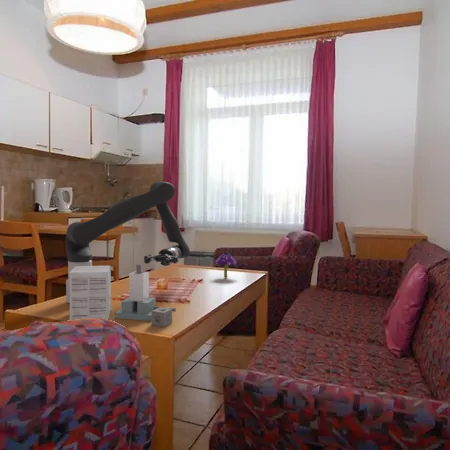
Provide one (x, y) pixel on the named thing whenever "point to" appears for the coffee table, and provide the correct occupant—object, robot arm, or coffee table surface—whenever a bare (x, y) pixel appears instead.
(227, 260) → the decorative mushroom
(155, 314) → the dice cube
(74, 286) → the supplement box
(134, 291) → the steel sleeve
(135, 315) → the vise
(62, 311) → the coffee table surface
